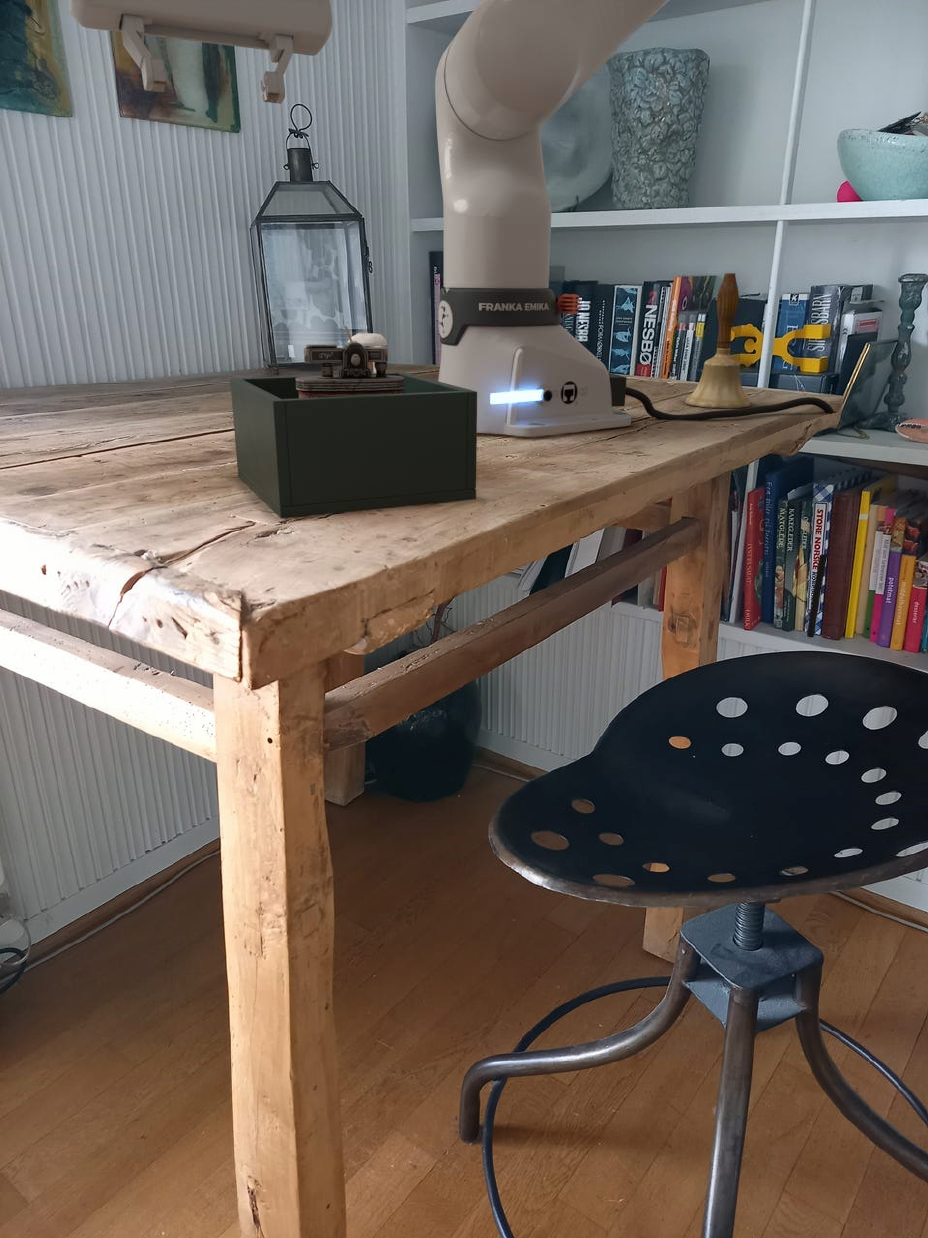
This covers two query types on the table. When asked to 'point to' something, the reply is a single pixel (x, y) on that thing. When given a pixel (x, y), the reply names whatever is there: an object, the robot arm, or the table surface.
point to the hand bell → (722, 359)
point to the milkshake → (368, 342)
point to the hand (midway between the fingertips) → (216, 94)
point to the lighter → (348, 372)
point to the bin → (354, 446)
